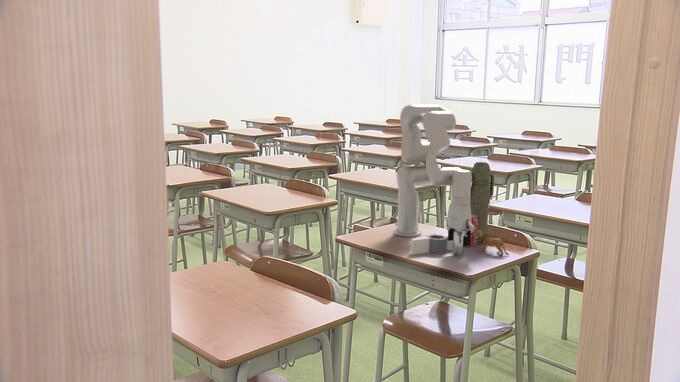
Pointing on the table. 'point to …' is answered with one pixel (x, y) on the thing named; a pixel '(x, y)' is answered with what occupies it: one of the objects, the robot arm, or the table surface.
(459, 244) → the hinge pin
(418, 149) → the robot arm
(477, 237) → the lion figurine
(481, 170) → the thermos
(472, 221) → the soda can
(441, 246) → the hinge
